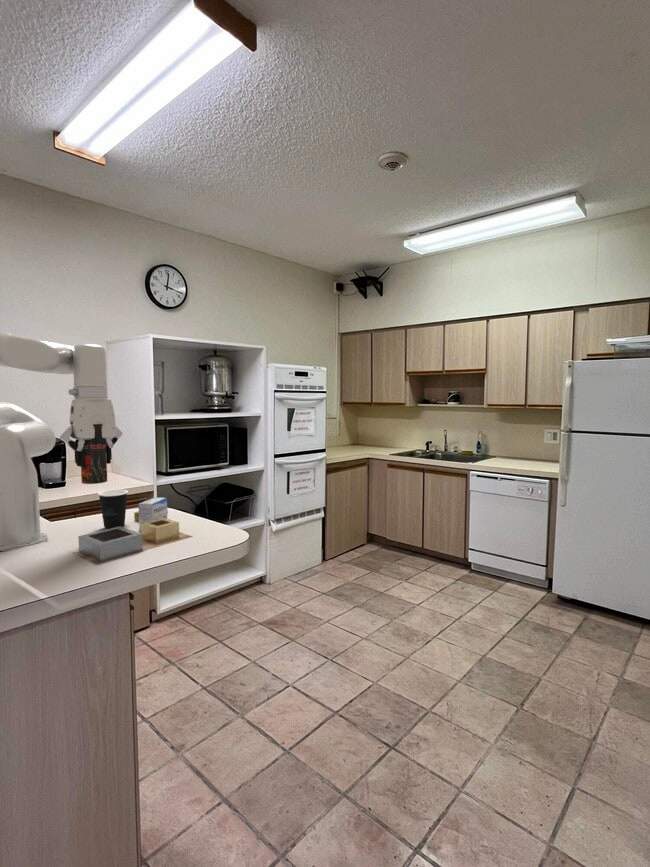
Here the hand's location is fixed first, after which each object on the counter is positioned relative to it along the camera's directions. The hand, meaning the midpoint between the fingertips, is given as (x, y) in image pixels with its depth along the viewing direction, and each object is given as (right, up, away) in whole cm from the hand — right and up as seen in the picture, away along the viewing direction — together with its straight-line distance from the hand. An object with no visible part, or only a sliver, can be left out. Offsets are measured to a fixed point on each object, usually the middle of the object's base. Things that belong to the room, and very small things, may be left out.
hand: (93, 464), depth 120 cm
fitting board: (+11, -21, 0) cm, 24 cm away
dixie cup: (-2, -20, +16) cm, 26 cm away
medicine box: (+10, -20, +16) cm, 28 cm away
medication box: (+5, -20, +26) cm, 33 cm away
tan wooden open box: (+15, -20, +5) cm, 26 cm away
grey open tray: (+7, -21, -5) cm, 23 cm away
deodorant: (0, -5, 0) cm, 5 cm away
